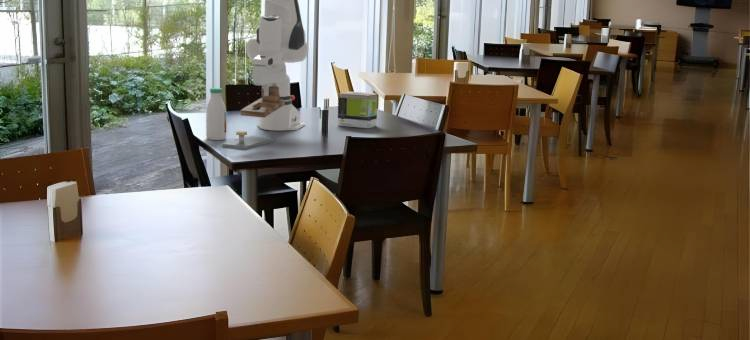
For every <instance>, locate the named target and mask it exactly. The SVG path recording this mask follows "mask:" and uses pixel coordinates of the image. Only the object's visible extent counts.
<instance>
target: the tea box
mask: <svg viewBox="0 0 750 340" xmlns="http://www.w3.org/2000/svg"><path fill="white" fill-rule="evenodd" d="M337 99H338V100H337V126H340V127H348V128H349V127H350V128H358V129H359V128H360V129H370V128H375V127H376V126H377V124H378V123H377V121H378V93H377V92H376V93H374V92H373V93H372V92H362V91H361V92H360V91H344V92H343V91H342V92H339V93H337Z"/></svg>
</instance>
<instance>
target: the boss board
mask: <svg viewBox="0 0 750 340" xmlns="http://www.w3.org/2000/svg"><path fill="white" fill-rule="evenodd" d="M235 133H236V134H235V135H237V136H238V139H234V140H231V141H227V142H224V143H222V144H221V145H222V148H228V149H237V150H249V149H252V148H255V147H259V146H262V145H266V144H269V143H273V138H271V137H270V138H269V137H263V136H254V135H250V136H249V135H248V132H247V131H245V130H238V131H235Z"/></svg>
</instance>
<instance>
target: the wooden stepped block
mask: <svg viewBox="0 0 750 340" xmlns="http://www.w3.org/2000/svg"><path fill="white" fill-rule="evenodd" d="M268 89H269V91H270V96H264V90H263V87H262V86H261V87H260V91H261V97H260V98H259V99H257V100H254V102H252V103H250V104H248V105H246V106H244V107H243V108H242V109H240V111H239V113H240V116H244V117H253V118H255V117H256V118H260V117H263V118H265V117H266V116H268V115H269V114H271V113H273V112H274V111H276V110H277V109H279V108H280V107H282V106H284V105H285V101H284V100H282V99H280V96H279V87H275V86H269V87H268ZM261 107H262V108H261Z"/></svg>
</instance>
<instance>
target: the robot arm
mask: <svg viewBox="0 0 750 340" xmlns="http://www.w3.org/2000/svg"><path fill="white" fill-rule="evenodd" d="M301 15H302V14H301V10H300V6H299V0H264V15H262V16H261V17H260V20H259V26H258V27H257V28H256V36H253V37H250V38H249V40H248V41H247V43H246V47H245V52H246V56H247V57H248V58H249V59H250V60H251V64H252V65H253V67H252V83H253V85H254V86H259V87H260V86H261V88H262V87H263V90H264V96H270V91H269V89H268V87H269V86H275V87H279V96H280V99H282V100H284V101H285V105H284V106H282V107H280V108H279V109H277V110H276V111H274V112H273V113H271V114H269V115H268V116H266V117H265V118H263V117H259V120H258V121H259V123H257V124H256V127H257V128H259V129H261V130H265V131H266V130H267V131H297V130H299V129H301V128H303V127H305V126H306V123H305V122H303V121H301V114H300V111H299V110H298V109H297V108H296V107H295V106H294V105H293V101H295V98H296V97H295V95H293V94H292V95H291V78H290V76H289V74H287V65H286V64H287V63H288V64H293V63H294V64H295V63H300V62H303V61H304V60H306V58H307V56H308V54H309V47H308V43H307V42H306V31H305V28H304V26H303V21H302V20H303V19H302V17H301ZM261 108H262V107H260V109H261Z"/></svg>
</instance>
